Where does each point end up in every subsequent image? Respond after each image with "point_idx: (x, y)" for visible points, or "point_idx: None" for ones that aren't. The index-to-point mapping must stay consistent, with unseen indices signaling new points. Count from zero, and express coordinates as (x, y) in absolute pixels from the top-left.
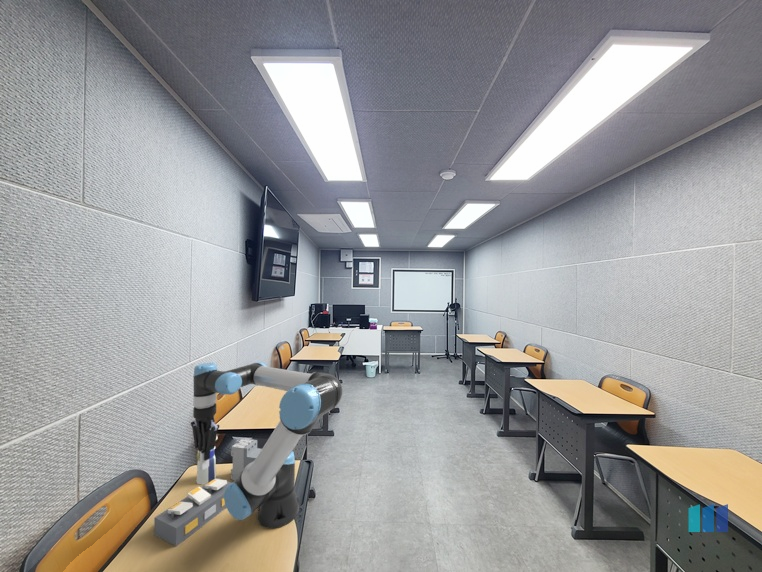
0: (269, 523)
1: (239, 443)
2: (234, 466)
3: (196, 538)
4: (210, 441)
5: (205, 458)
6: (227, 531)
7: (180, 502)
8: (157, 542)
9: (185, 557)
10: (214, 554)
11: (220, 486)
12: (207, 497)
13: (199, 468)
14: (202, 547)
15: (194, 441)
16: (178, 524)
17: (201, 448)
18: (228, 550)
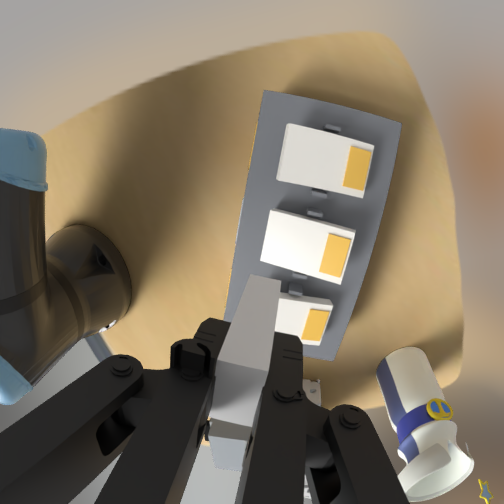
0: (66, 228)
1: None
2: None
3: (232, 141)
4: (15, 429)
5: (212, 329)
6: (160, 188)
7: (351, 187)
8: (345, 104)
9: (208, 81)
10: (139, 115)
11: None
12: (263, 244)
13: (425, 380)
14: (187, 120)
15: (393, 474)
16: (272, 105)
17: (258, 407)
18: (115, 137)
